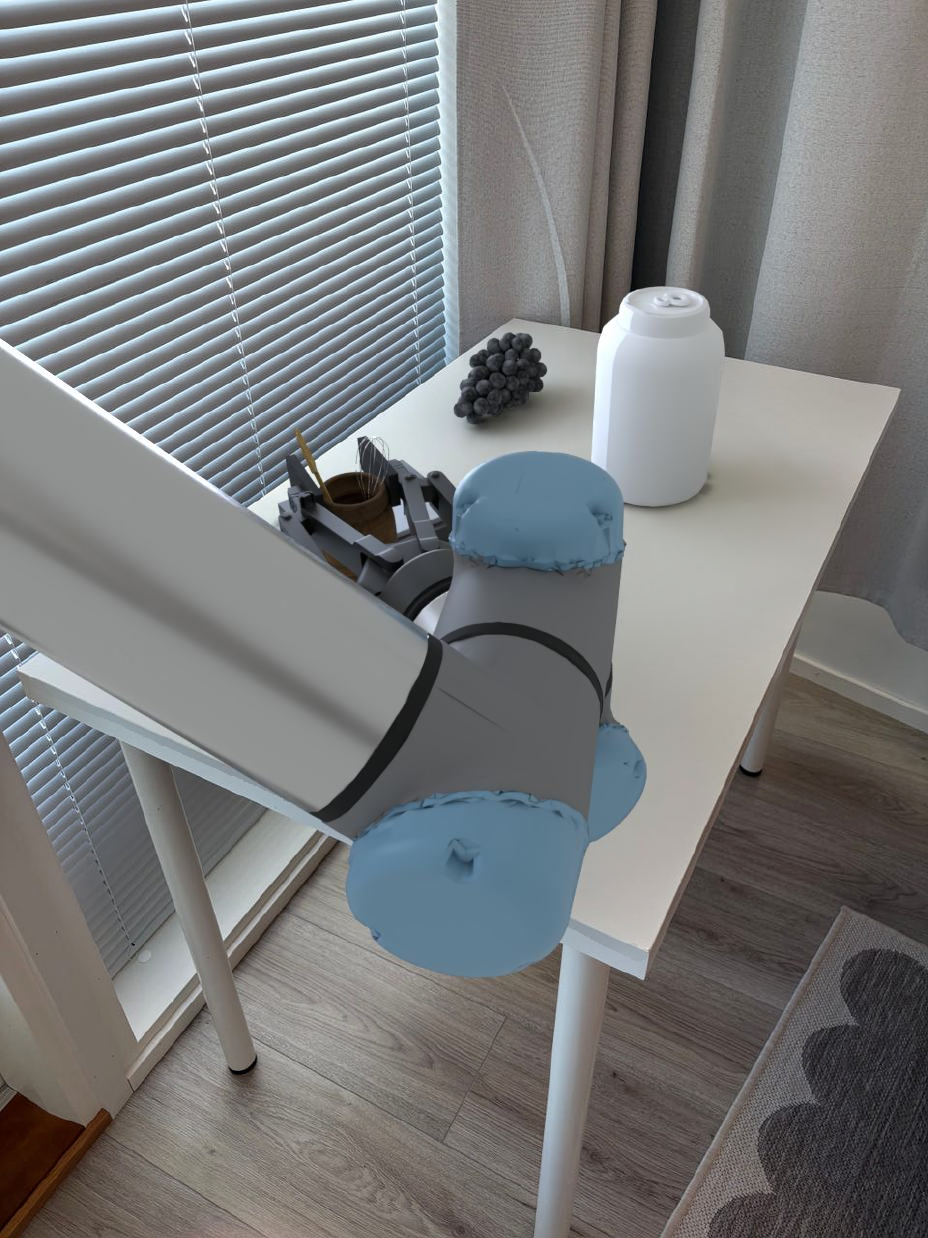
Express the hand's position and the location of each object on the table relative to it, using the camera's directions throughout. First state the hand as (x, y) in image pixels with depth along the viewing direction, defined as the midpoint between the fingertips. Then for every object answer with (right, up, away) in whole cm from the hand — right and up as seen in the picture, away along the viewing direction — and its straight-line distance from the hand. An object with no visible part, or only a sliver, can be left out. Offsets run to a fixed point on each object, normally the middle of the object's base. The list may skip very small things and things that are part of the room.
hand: (328, 461), depth 73 cm
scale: (+1, -3, +25) cm, 25 cm away
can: (+31, +3, +30) cm, 43 cm away
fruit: (+14, +14, +45) cm, 49 cm away
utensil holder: (+2, -8, +1) cm, 9 cm away
